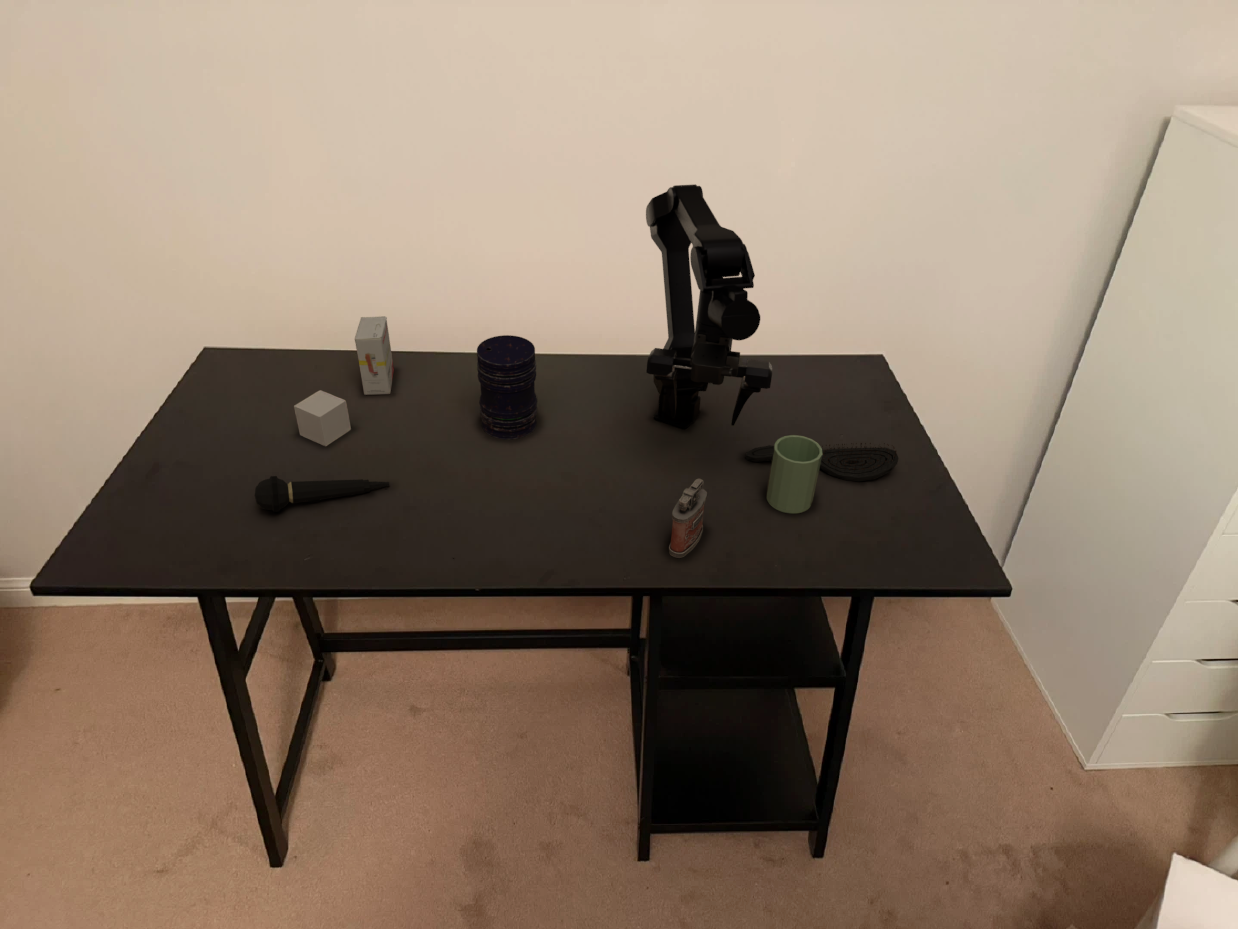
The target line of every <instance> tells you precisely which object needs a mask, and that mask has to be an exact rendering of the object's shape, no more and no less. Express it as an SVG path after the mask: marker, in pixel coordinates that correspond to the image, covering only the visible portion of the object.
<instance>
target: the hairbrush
mask: <svg viewBox="0 0 1238 929" xmlns="http://www.w3.org/2000/svg"><path fill="white" fill-rule="evenodd" d="M864 444H865V445H864V446H863V442H860V446H859V447H858V446H855V447H848V446H846V448H845V445H846V443H841V445H842V446H841V447H843V446H844V447H843V448H840V446H839V443H838V444H837V443H836V444H835V445H836V446H838V447H837V448H835V447H833V448H832V447H831V444H828V445H827V444H825V446H826V447H827V446H828V447H829V449H828V448H826V449H822V459H821V463H820V468H819V470H820V469H821V470H822V471H823V472H825V473H826V474H828V475H829V476H832V477H835V478H838V479H839V480H843V481H850V482H865V481H873V480H876V479H878V478H881V477H882V476H884V475H887V474H890V473H891V471H892V470H893V469H894V468H895V467H896V465H898V462H899V455H898V453H897V450H896V447H895V446H893V444H891V447H892V448H889V445H890V444H888V443H887V444H886V442H884V443H883V445H885V444H886V446H887V447H885V446H883V447H882V446H880V445H878V447H876V446H874V447H866V445H867V442H865V443H864ZM850 445H853V443H852V442H851V443H850ZM855 445H857V442H856V443H855ZM869 445H871V442H869ZM823 446H824V445H821V448H823ZM773 450H774V445H772V444H771V445H770V444H769V445H763V446H759V447H758V446H757V447H754V448H751V449H750V450H747V451H746V452H745V460H747V461H751V462H754V463H757V462H758V463H759V462H769V461H772V456H773Z"/></svg>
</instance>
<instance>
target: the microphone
mask: <svg viewBox="0 0 1238 929" xmlns="http://www.w3.org/2000/svg"><path fill="white" fill-rule="evenodd" d="M389 486H390V482H389V481H378V480H377V481H376V480H375V481H370V480H369V479H361V478H359V479H332V480H303V481H301V480H299V481H297V480H296V481H289V483H287V482H286V481H285V480H283V479H281V478H278V476H277V475H271V476H270V477H269V478H266V479H263V480H261V481H259V483H258V484H257V485H256V487H255V488H254V489H255V490H254V498H255V501H256V504H257V505H258V506H259V507H260V508H261V509H263V510H266V511H272V512H273V513H279V512H281V509H283V508H286V506H287V505H288V504H289V503H291V504H299V503H306V502H308V503H310V504H311V503H319V502H321V500H326V499H333V498H341V497H346V496H354V495H355V496H356V495H360V494H365V493H370V492H371V490H377V489H381V488H386V487H389Z"/></svg>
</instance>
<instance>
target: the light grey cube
mask: <svg viewBox="0 0 1238 929" xmlns="http://www.w3.org/2000/svg"><path fill="white" fill-rule="evenodd" d="M293 410H294V413H295V418H296V423H297V428H298V433H299V436H301V437H303V438H306V439H308V440H310V441H312V442H314V443H317V444H320V445H321V446H323V447H327V446H329V445H330V444H332V443H333V442H335V441H336V440H338V439H339V438H341V437H342V436H344V435H346V434H347V433H348V432H350V431H351V430H352V428H351V421H350V415H349V410H348V405H347V400H345V399H343V398H341V397H339V396H336V395H333V394H331V393H329V392H326V391H323V390H321V389H319V390H318V391H316V392H314V393H313V394H311V395H309V396H308V397H306V398H305V399H303V400H301V401H299V402H298V403H296V404H295V405H293Z"/></svg>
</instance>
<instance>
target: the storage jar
mask: <svg viewBox="0 0 1238 929" xmlns="http://www.w3.org/2000/svg"><path fill="white" fill-rule="evenodd" d="M476 356H477V357H476V360H477V362H476V370H477V379H478V382H479V384H480V385H479V386H480V395H479V402H478V403H479V414H480V419H481V428H482V430H483V431H484V433H486V434H487V435H488V436H490V437H493V438H495V439H499V440H517V439H521V438H525V437H527V436H529V435H530V434H531V433H532V432H534V431H535V429H536V428H537V424H538V420H537V413H538V397H537V394H536V389H535V381H536V380H537V361H536V347H535V345H534V343H532V341H530V340H529V339H527V338H524V337H522V336H517V335H508V334H507V335H505V334H504V335H495V336H491V337H488V338H486V339H484V340H483V341H481V342H480V343H479V344H478V345H477V348H476Z"/></svg>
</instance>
